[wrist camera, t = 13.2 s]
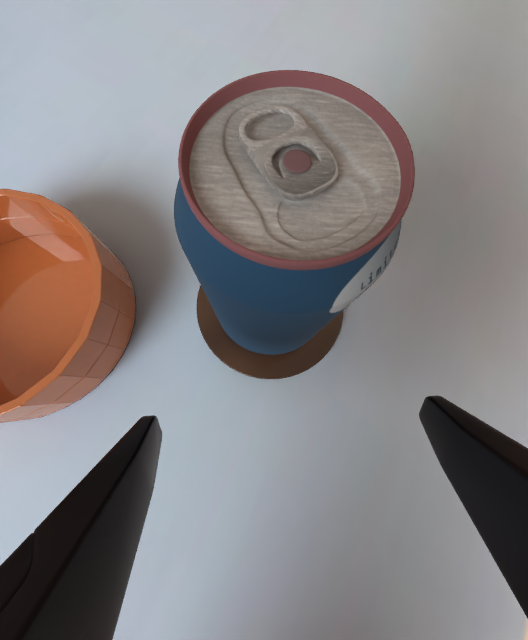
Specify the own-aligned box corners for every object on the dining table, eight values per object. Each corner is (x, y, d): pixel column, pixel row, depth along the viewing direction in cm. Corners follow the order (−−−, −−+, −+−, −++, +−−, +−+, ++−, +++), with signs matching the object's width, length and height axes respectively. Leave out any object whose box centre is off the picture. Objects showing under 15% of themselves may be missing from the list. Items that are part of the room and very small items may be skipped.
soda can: (339, 324, 18) (501, 203, 6) (250, 377, 17) (242, 352, 5) (285, 244, 19) (335, 21, 8) (200, 288, 18) (103, 107, 6)
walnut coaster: (370, 309, 19) (372, 307, 18) (267, 412, 17) (268, 413, 16) (272, 217, 20) (272, 214, 20) (167, 302, 18) (165, 299, 18)
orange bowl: (174, 322, 18) (151, 302, 14) (-3, 469, 15) (-96, 498, 11) (66, 200, 20) (18, 152, 16) (-106, 312, 17) (-217, 288, 13)
